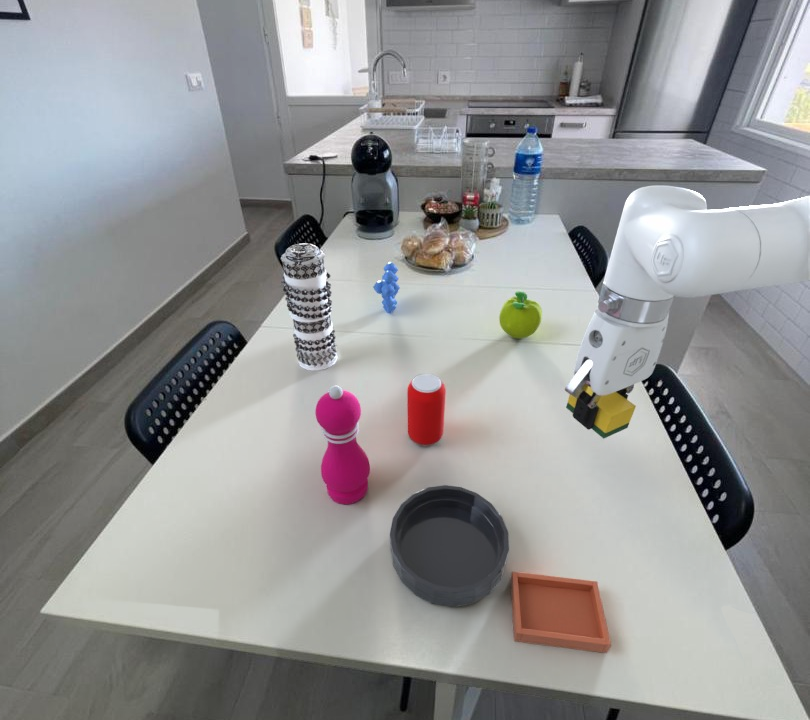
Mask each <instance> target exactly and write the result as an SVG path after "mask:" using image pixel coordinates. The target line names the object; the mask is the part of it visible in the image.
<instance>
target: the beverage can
mask: <svg viewBox="0 0 810 720" xmlns="http://www.w3.org/2000/svg"><path fill="white" fill-rule="evenodd" d="M446 390H447V389H446V387H445V384H444V382H443V381H442V380H441V378H440V377H439V376H437V375H435V374H432V373H421V374H420V373H419V374H417V375H415V376H414V377H413V378H412V379H411V381H410V382H409V383H408V386H407V389H406V391H407V393H406V395H407V396H406V397H407V399H406V400H407V408H406V409H407V434H408V435H407V436H408V437H409V439H410V440H411V442H413V443H414V444H416V445H419V446H423V447H429V446H433V445H436V444H437V443H438V442H440V441H441V439H442V437H443V436H444V423H445V410H446V409H445V408H446V393H447V392H446Z"/></svg>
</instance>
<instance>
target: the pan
mask: <svg viewBox="0 0 810 720" xmlns="http://www.w3.org/2000/svg"><path fill="white" fill-rule="evenodd" d="M389 531H390V532H389V544H390V545H389V547H390V548H389V549H390V555H391V561H392V562H391V563H392V566H393V568H394V570H395V572H396V574H397V576H398V578H399V579H400V582H401V583H402V584H403V585H405V586H406V588H407V589H408V590H410V591H411V592H412V594H413V595H415V596H416V597H418V598H421V599H422V600H424V601H426V602H428V603H430V604H432V605H437V606H445V607H452V608H453V607H454V608H455V607H460V606H461V607H462V606H467V605H472V604H475V603H476V602H478V601H480V600H482V599H483V598H485V597H486V596H488V595H490V594H491V593H492V591H493V590H494V589H495V588H496V586H497V585H498V584H499V583H500V581H501V580H502V577H503V575H504V571H505V568H506V565H507V561H508V557H509V553H510V540H509V538H510V537H509V536H510V535H509V531H508V528H507V526H506V523H505V521H504V518H503V516H502V514H500V512H499V511H498V510H497V509H496V507H495V506H494V505H493V504H492V503H491V502H490V501H489V500H488V499H486V498H485V497H484V496H482V495H481V494H479V493H477V492H475V491H472V490H469V489H467V488H464V487H462V486H455V485H446V484H444V485H437V486H429V487H425V488H423V489H422V490H419V491H417V492H415V493H412V494H411V495H410V496H408V498H406V499H405V500H404V502H402V503H401V504H400V505H399V507H398V508H397V510H396V512H395V514H394V516H393V517H392V521H391V527H390V530H389Z"/></svg>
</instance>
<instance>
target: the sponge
mask: <svg viewBox="0 0 810 720" xmlns="http://www.w3.org/2000/svg"><path fill="white" fill-rule="evenodd" d="M586 392H587V393H588V394H589V395H590V396H592V394H593V391H592V389H591V387H589V386H588V388H587V390H586ZM576 401H577V398H575V397H573V396H571V395H570V394H568V400H567V403H566V406H565V408H566V409H567V410H568V411H569V412H571V413H572V414H573V412H574V408H575V405H576ZM597 406H598V407H599V410H598V413H597V416H596V419H595V422H594V425H593V428H592V429H591V430H592V431H594V432H595V433H596V434H597V435H598V436H599V437H601V438H602V439H607V438H608V437H611V436H613V435H616V433H620V432H622V431H625V430H626V429H628V428H629V425H630V422H631V420H632V417H633V415H634V412H635V410H636V407H637V405H636V404H634V403H632V402H631V401H630V400H628V398H627V399H626V398H624V397H623V396H621V395H620V394H618V393H617V392H614V393H611V394H608V395H602V396H601V397H600V399H599V401H598V403H597Z"/></svg>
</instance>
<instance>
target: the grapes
mask: <svg viewBox="0 0 810 720" xmlns="http://www.w3.org/2000/svg"><path fill="white" fill-rule="evenodd" d="M382 270H384V273H383V275H382V276H381V279H382V280H378V281H376V282H375V283H374V285H373V286H372V287H373V289H374V291H375V293H377V294H379V295H381V298H382V299H383V300H382V301H381V304H382V309H383V310H384V311H385V312H386V314H389V315H391V314H392V313H393V312H394V311H395V310H396V309H397V304H398V301H397V300H396V296H397V294H398V293H399V290H400V289H401V287H400V285H399V284H398V283H397V282H398V281H399V277H398V275H397V272H398V271H399V269H398V267H397V265H396V264H395V263H394V262H392V261H389V262H387V263H386V264H385V266H384V267H383V269H382Z"/></svg>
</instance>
